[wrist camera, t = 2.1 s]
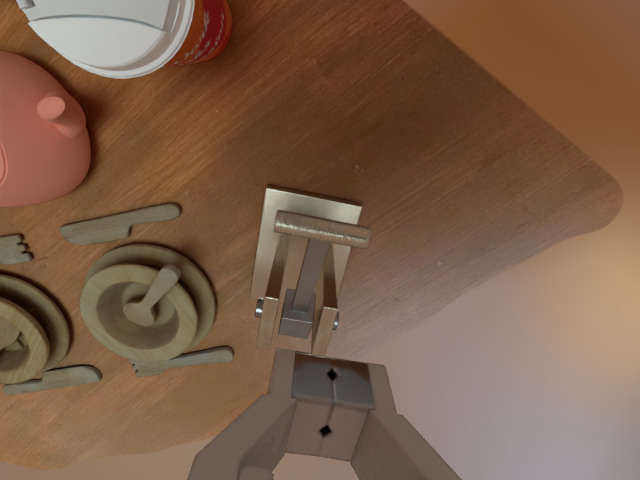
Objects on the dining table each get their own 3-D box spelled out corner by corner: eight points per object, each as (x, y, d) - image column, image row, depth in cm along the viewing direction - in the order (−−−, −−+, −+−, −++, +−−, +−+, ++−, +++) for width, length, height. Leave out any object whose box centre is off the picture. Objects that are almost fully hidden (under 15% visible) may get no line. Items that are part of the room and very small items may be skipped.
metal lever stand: (267, 184, 35) (241, 239, 23) (361, 202, 35) (381, 265, 24) (250, 291, 39) (222, 383, 28) (333, 306, 40) (339, 401, 28)
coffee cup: (165, 87, 31) (45, 97, 18) (123, -28, 28) (-64, -128, 14) (261, 63, 30) (214, 54, 17) (230, -58, 27) (140, -193, 14)
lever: (280, 196, 20) (272, 230, 18) (371, 214, 20) (371, 249, 19) (265, 302, 29) (259, 331, 27) (327, 313, 29) (325, 342, 28)
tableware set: (181, 199, 35) (156, 222, 30) (240, 358, 43) (229, 399, 38) (-98, 255, 38) (-168, 286, 32) (7, 396, 45) (-36, 440, 40)
